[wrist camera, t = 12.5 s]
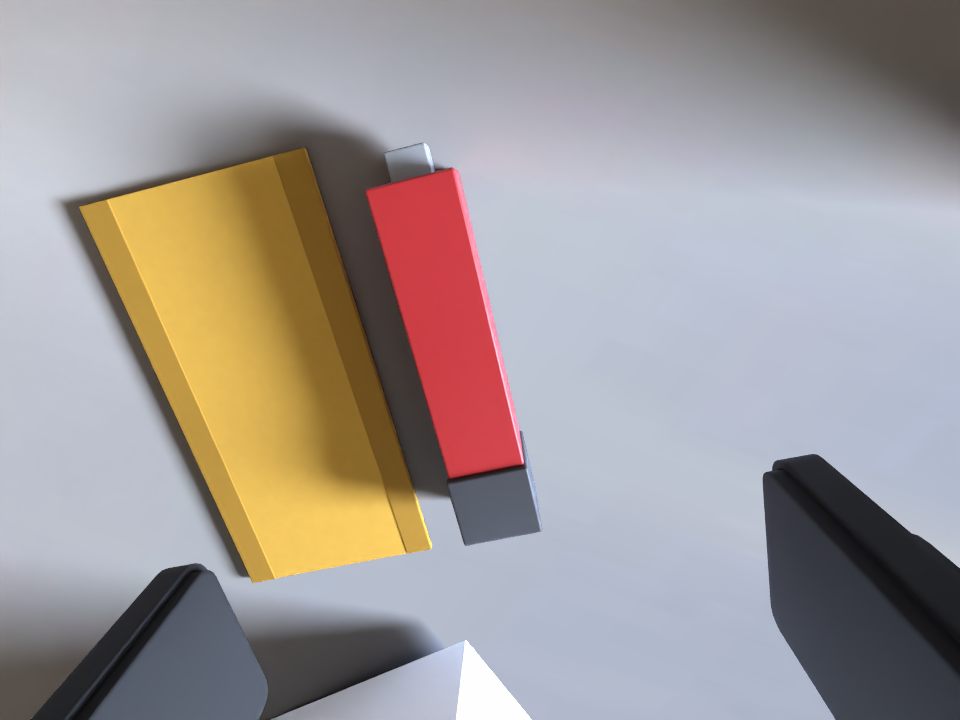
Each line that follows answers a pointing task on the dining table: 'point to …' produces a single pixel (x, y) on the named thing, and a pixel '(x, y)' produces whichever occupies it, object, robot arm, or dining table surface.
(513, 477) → the marker
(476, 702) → the blocky voxel creature
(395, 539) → the mustard cloth
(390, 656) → the dining table surface
